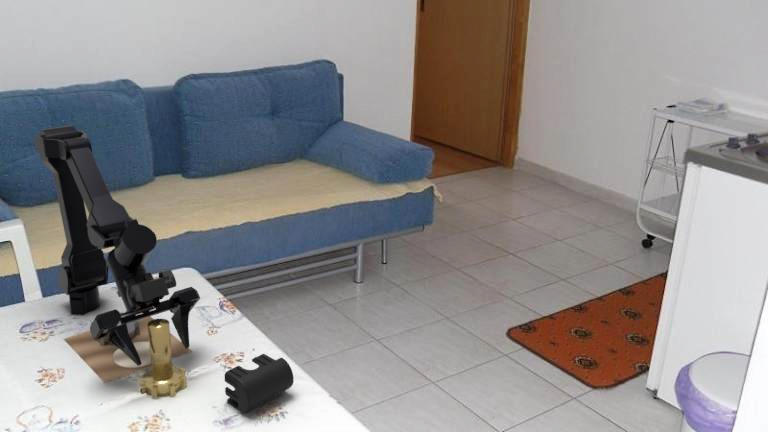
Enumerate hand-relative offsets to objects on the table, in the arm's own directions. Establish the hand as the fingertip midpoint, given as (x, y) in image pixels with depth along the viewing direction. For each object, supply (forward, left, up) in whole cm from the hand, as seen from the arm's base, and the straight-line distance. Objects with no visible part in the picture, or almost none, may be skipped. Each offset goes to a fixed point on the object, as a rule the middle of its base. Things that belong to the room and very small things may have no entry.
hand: (164, 356), depth 133 cm
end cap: (+1, +17, -7) cm, 18 cm away
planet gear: (-1, -1, -7) cm, 7 cm away
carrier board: (-11, -12, -7) cm, 17 cm away
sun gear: (-14, -16, -5) cm, 21 cm away
